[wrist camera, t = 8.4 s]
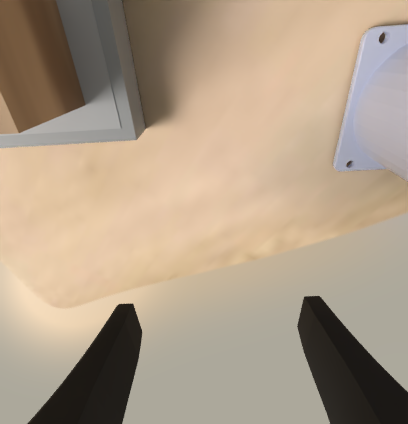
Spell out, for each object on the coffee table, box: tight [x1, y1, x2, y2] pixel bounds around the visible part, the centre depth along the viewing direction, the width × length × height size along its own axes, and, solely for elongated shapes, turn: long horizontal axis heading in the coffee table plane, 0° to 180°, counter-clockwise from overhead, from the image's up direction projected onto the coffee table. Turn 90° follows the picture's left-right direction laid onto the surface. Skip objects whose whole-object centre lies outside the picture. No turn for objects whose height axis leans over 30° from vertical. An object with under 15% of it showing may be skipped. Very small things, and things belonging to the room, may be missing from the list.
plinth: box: [0, 0, 146, 148], centre depth 13 cm, size 9×9×2 cm
